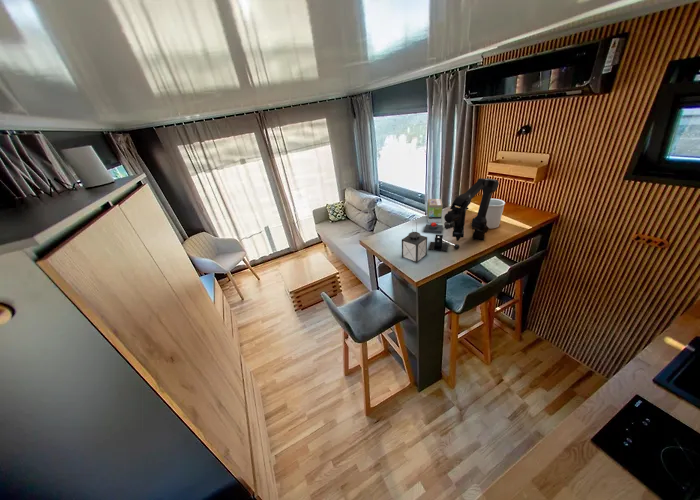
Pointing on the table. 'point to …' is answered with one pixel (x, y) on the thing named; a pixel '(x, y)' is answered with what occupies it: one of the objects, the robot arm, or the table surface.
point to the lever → (450, 243)
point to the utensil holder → (494, 213)
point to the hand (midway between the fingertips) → (457, 240)
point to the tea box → (434, 210)
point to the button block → (433, 228)
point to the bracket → (438, 244)
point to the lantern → (414, 246)
